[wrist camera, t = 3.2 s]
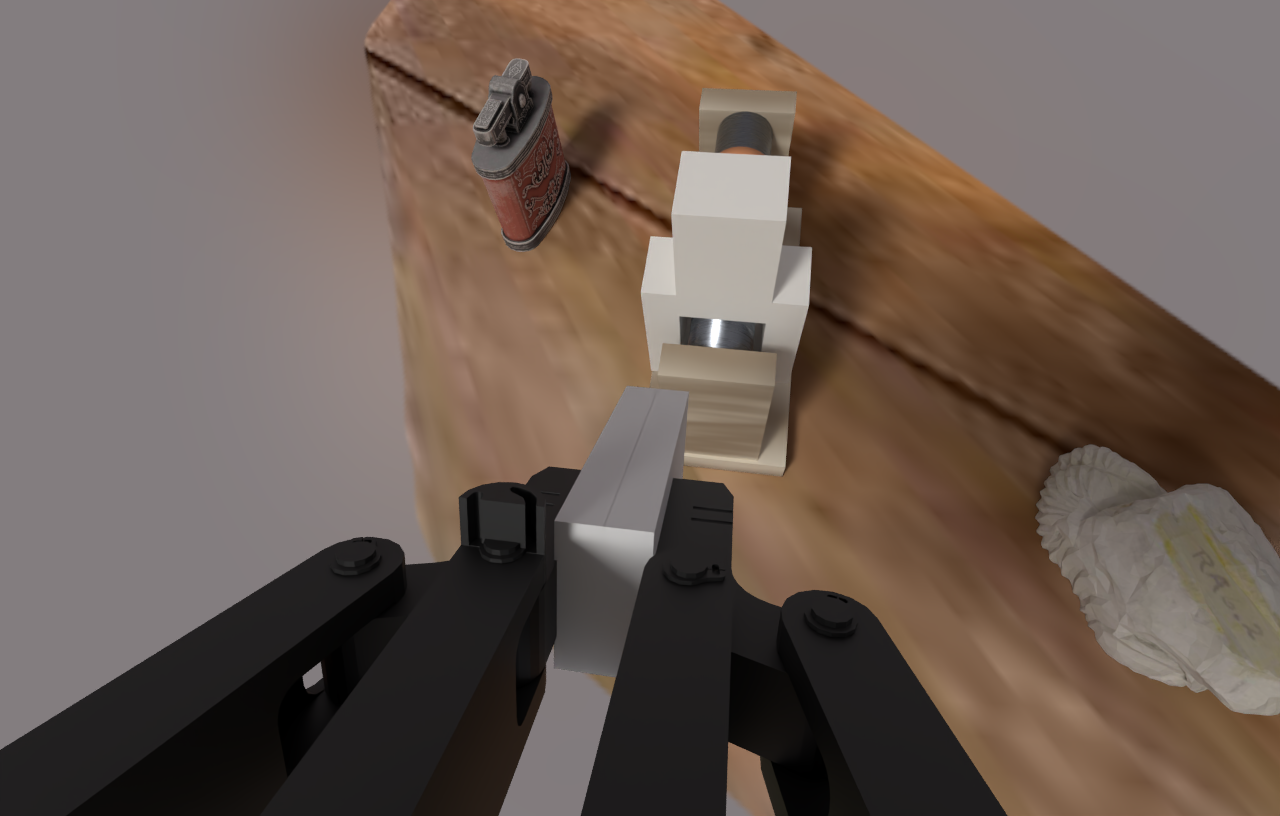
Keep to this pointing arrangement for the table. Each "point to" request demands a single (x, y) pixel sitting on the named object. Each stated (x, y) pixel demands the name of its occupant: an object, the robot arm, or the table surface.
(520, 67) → the lighter
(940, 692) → the table surface
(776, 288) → the white pipe saddle block
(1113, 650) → the fossil replica
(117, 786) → the robot arm
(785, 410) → the pipe stand
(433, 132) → the table surface
